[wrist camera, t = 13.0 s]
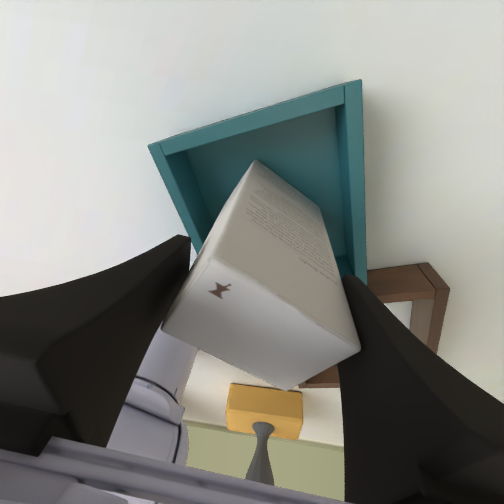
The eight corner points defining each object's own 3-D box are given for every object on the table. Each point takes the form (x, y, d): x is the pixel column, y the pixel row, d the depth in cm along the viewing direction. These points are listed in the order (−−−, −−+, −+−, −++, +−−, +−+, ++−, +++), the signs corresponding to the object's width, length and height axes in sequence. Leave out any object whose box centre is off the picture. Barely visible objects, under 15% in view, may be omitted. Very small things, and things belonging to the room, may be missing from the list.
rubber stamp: (302, 391, 33) (309, 521, 23) (297, 411, 36) (301, 533, 26) (230, 382, 34) (207, 503, 24) (231, 402, 37) (211, 516, 27)
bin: (227, 276, 23) (219, 303, 20) (171, 136, 17) (146, 145, 14) (355, 257, 20) (367, 285, 17) (345, 82, 14) (362, 78, 11)
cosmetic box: (224, 203, 18) (151, 330, 8) (255, 156, 16) (208, 251, 6) (285, 245, 20) (285, 396, 10) (322, 207, 18) (369, 351, 8)
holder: (297, 361, 29) (299, 388, 27) (275, 282, 23) (274, 306, 20) (415, 356, 26) (430, 385, 23) (428, 262, 20) (450, 288, 17)
